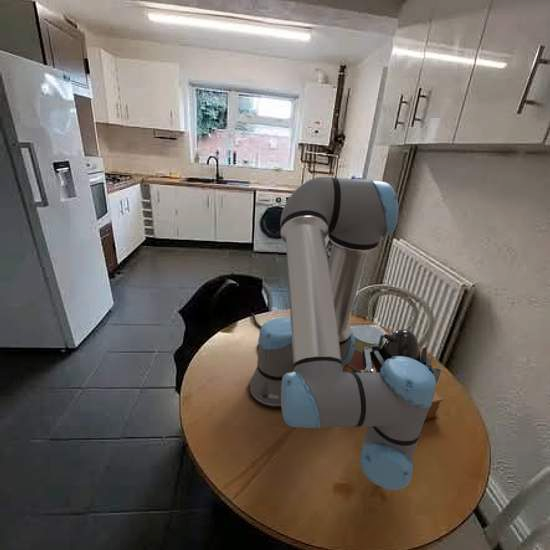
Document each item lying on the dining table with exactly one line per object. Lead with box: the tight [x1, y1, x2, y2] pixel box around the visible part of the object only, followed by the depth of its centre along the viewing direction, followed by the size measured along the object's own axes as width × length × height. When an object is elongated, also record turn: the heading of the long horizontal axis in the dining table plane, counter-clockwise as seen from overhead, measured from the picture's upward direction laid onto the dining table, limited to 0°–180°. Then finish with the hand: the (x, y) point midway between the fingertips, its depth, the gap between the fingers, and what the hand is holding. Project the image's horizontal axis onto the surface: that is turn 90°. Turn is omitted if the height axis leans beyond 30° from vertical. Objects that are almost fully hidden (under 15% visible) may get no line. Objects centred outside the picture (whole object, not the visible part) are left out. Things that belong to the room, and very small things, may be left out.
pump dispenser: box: [375, 328, 421, 373], centre depth 75 cm, size 10×10×15 cm
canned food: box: [347, 324, 386, 373], centre depth 109 cm, size 11×11×12 cm
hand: (402, 345), depth 78 cm, fingers closed on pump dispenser, 9 cm apart
